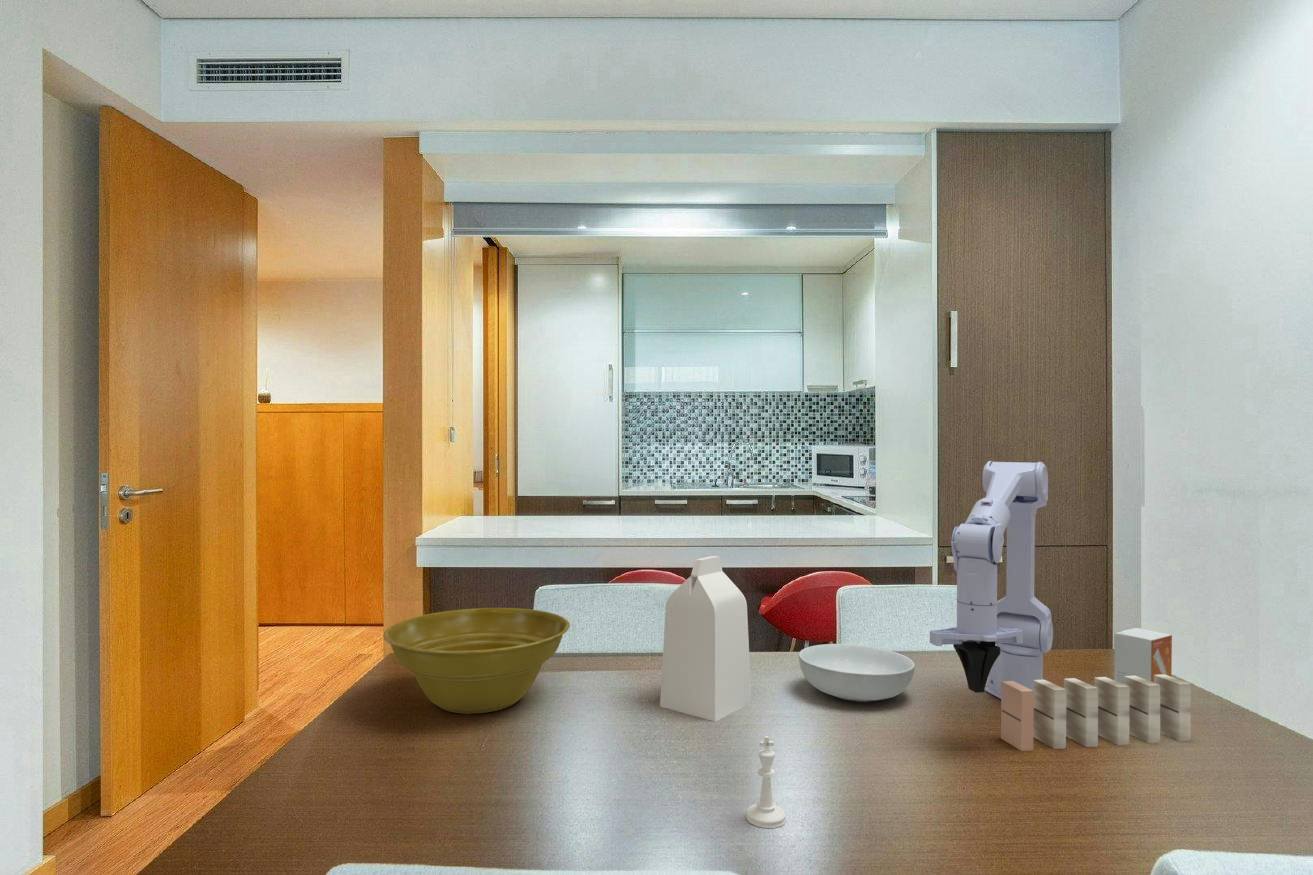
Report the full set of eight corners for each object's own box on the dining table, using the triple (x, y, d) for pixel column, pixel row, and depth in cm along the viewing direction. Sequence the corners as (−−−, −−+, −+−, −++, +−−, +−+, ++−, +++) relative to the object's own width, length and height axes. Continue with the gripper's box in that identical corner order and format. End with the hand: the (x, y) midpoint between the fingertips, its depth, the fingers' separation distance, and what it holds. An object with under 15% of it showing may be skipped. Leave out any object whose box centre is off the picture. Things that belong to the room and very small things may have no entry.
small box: (1151, 715, 130) (1151, 640, 130) (1112, 704, 135) (1113, 632, 136) (1172, 706, 135) (1172, 634, 135) (1134, 696, 140) (1134, 626, 140)
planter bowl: (341, 724, 122) (342, 641, 122) (443, 668, 153) (443, 602, 153) (525, 745, 114) (526, 656, 114) (592, 681, 145) (593, 612, 146)
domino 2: (1063, 734, 121) (1063, 678, 121) (1074, 734, 121) (1075, 678, 121) (1086, 747, 116) (1086, 688, 116) (1097, 746, 116) (1098, 687, 116)
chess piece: (742, 809, 95) (743, 729, 95) (780, 807, 95) (781, 728, 95) (750, 828, 90) (751, 745, 90) (790, 827, 90) (791, 744, 90)
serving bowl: (931, 715, 129) (931, 674, 129) (809, 712, 130) (809, 672, 130) (895, 678, 150) (895, 643, 150) (790, 676, 150) (790, 641, 151)
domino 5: (1153, 729, 123) (1153, 674, 124) (1164, 728, 124) (1164, 674, 124) (1179, 741, 118) (1179, 684, 119) (1190, 740, 119) (1190, 683, 119)
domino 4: (1124, 731, 123) (1124, 676, 123) (1135, 730, 123) (1135, 675, 123) (1148, 743, 118) (1148, 685, 118) (1160, 742, 118) (1160, 685, 118)
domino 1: (1032, 736, 120) (1033, 679, 120) (1044, 735, 120) (1044, 679, 120) (1054, 748, 115) (1054, 689, 115) (1066, 748, 115) (1066, 689, 115)
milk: (715, 721, 125) (716, 565, 125) (659, 706, 132) (661, 558, 132) (751, 702, 134) (752, 557, 135) (698, 689, 141) (699, 551, 142)
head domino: (1001, 738, 119) (1001, 681, 119) (1012, 737, 119) (1012, 680, 119) (1021, 750, 114) (1021, 691, 114) (1033, 750, 114) (1033, 690, 114)
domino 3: (1094, 732, 122) (1094, 677, 122) (1105, 732, 122) (1105, 676, 122) (1117, 745, 117) (1117, 687, 117) (1129, 744, 117) (1129, 686, 117)
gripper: (947, 608, 111) (946, 700, 110) (1036, 606, 113) (1035, 696, 113) (922, 599, 118) (922, 685, 117) (1007, 597, 120) (1006, 682, 120)
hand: (976, 690), depth 116 cm, fingers closed
